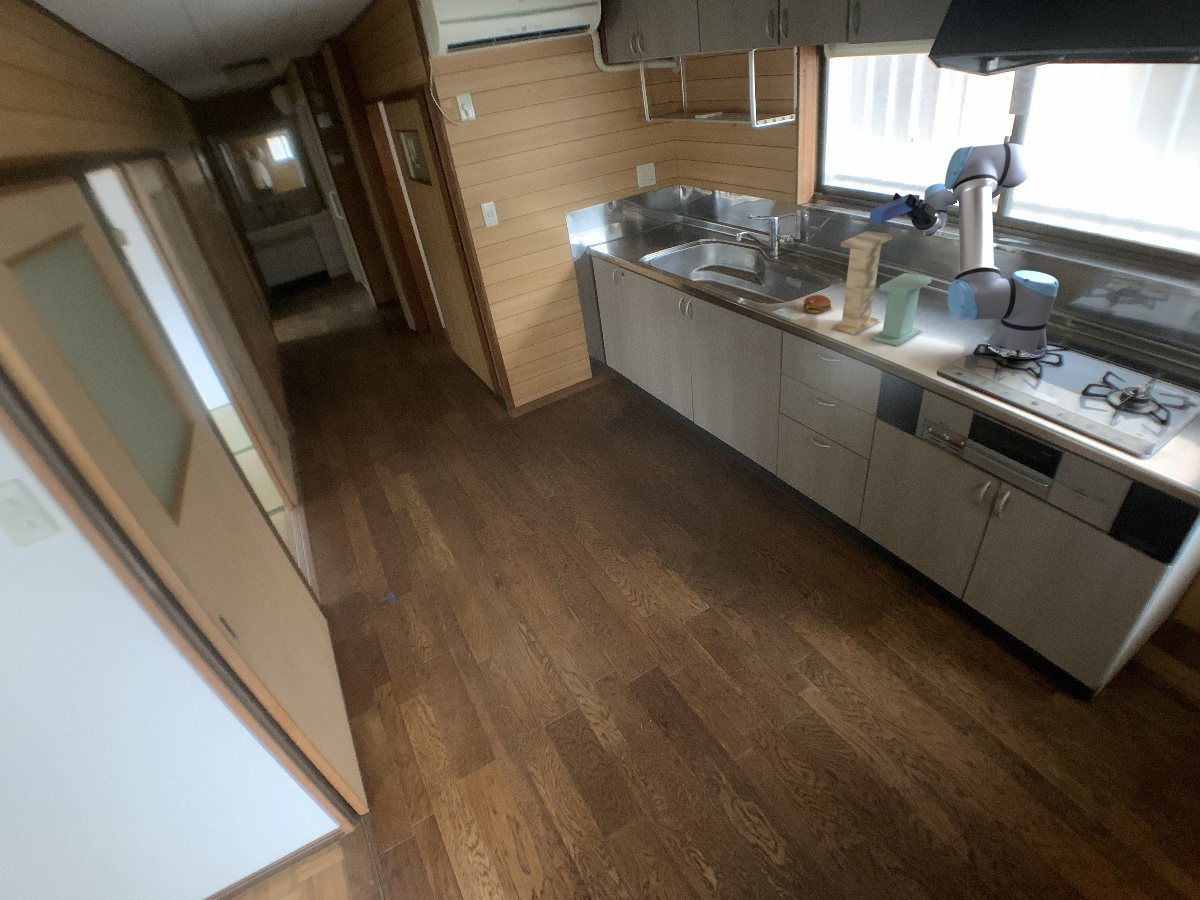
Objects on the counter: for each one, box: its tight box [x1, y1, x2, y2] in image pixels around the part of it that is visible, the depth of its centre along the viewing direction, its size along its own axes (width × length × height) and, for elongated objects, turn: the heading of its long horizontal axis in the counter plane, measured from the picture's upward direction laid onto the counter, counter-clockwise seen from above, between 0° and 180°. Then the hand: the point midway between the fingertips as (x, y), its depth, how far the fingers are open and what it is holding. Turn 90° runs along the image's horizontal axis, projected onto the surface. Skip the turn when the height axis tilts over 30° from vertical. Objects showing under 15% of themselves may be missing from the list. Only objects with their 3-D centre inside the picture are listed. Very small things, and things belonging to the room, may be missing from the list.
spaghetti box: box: [869, 193, 921, 224], centre depth 201 cm, size 23×4×4 cm, turn 129°
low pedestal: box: [872, 272, 933, 347], centre depth 198 cm, size 15×9×18 cm, turn 129°
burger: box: [802, 294, 832, 315], centre depth 227 cm, size 10×9×5 cm
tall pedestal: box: [832, 230, 894, 336], centre depth 205 cm, size 15×9×30 cm, turn 129°
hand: (901, 197), depth 201 cm, fingers closed on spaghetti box, 4 cm apart
